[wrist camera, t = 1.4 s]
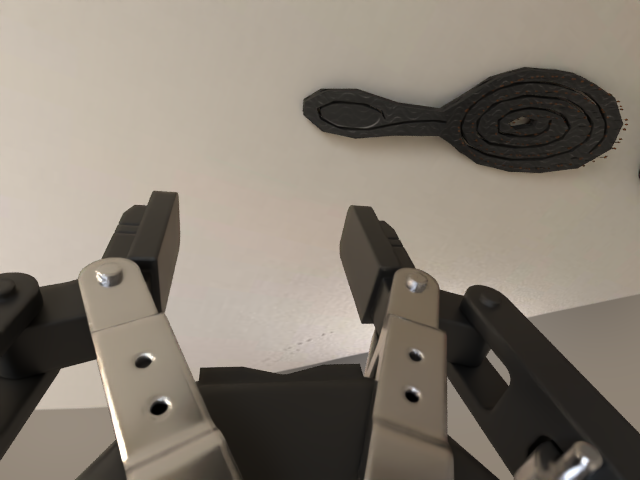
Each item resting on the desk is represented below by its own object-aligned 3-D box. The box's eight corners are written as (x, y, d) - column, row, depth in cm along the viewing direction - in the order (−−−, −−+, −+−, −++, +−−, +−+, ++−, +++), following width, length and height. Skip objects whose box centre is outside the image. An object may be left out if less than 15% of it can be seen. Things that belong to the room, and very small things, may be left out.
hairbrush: (312, 51, 24) (658, 88, 28) (307, 41, 27) (620, 75, 31) (300, 173, 29) (597, 190, 33) (297, 153, 32) (570, 171, 36)
